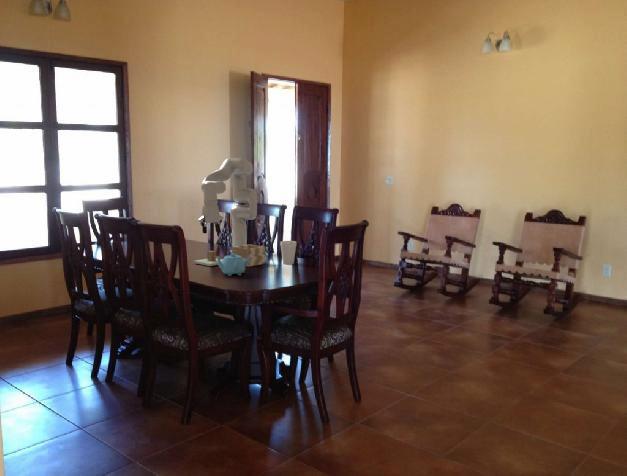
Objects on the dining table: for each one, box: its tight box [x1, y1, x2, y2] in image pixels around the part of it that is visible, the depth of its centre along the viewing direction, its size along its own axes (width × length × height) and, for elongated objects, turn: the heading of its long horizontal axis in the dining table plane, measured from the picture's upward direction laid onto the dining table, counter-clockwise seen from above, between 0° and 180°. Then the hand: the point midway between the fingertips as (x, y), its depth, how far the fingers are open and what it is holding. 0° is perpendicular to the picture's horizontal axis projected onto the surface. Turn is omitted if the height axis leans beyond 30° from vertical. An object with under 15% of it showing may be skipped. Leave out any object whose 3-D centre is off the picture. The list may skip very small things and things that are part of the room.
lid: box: [193, 250, 224, 267], centre depth 319 cm, size 15×15×8 cm
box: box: [231, 243, 267, 267], centre depth 321 cm, size 14×14×10 cm
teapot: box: [215, 253, 251, 277], centre depth 289 cm, size 15×14×11 cm
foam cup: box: [279, 240, 297, 265], centre depth 322 cm, size 10×9×13 cm
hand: (211, 232), depth 317 cm, fingers open, 9 cm apart
